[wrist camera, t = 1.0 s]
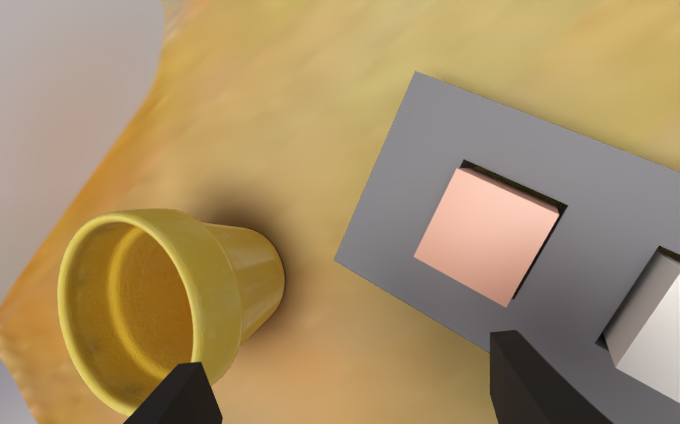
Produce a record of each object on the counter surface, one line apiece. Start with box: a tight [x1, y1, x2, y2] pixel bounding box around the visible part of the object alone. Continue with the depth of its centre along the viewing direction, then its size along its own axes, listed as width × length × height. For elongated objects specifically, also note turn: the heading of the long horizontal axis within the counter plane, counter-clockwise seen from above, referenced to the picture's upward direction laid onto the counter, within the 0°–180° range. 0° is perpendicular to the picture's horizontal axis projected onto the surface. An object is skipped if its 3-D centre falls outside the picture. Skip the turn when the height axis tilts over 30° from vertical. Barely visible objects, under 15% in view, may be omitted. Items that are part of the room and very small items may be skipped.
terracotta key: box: [414, 168, 559, 307], centre depth 18 cm, size 4×4×4 cm
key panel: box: [334, 71, 680, 424], centre depth 19 cm, size 20×10×4 cm, turn 66°
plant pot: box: [57, 209, 285, 417], centre depth 26 cm, size 10×10×10 cm
